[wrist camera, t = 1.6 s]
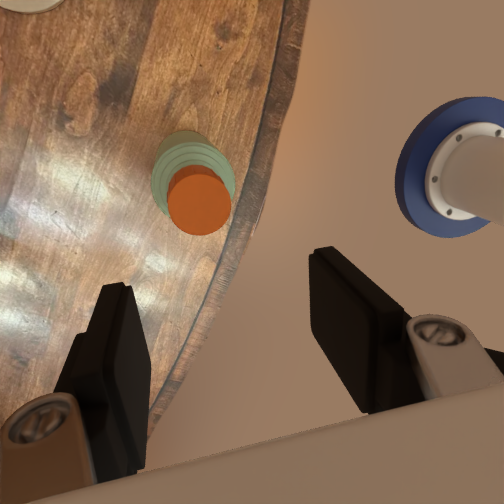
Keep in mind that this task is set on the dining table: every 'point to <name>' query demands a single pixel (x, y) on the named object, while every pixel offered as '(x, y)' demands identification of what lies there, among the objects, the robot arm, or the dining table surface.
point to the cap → (198, 200)
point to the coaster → (29, 5)
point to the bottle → (186, 163)
